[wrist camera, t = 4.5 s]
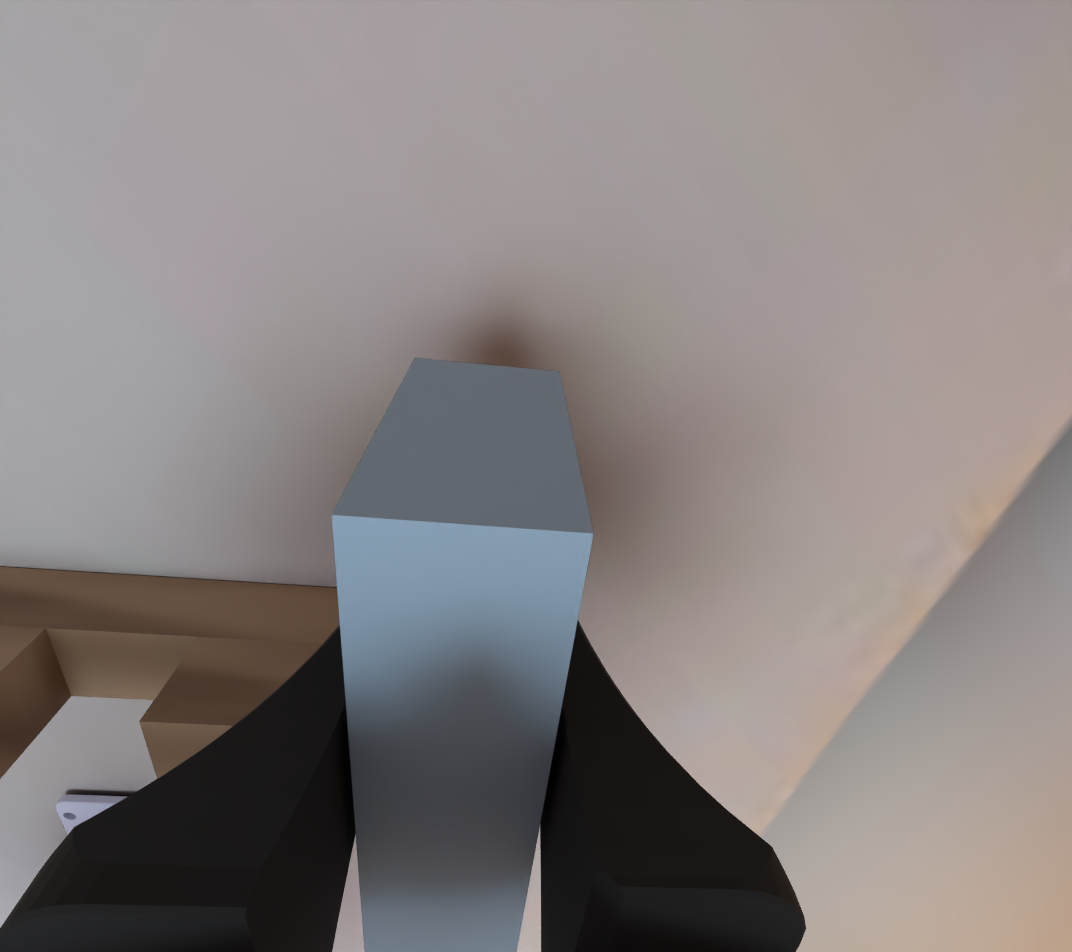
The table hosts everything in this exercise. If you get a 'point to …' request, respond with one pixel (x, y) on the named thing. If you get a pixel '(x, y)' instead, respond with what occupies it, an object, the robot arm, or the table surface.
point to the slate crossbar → (457, 646)
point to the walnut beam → (150, 651)
